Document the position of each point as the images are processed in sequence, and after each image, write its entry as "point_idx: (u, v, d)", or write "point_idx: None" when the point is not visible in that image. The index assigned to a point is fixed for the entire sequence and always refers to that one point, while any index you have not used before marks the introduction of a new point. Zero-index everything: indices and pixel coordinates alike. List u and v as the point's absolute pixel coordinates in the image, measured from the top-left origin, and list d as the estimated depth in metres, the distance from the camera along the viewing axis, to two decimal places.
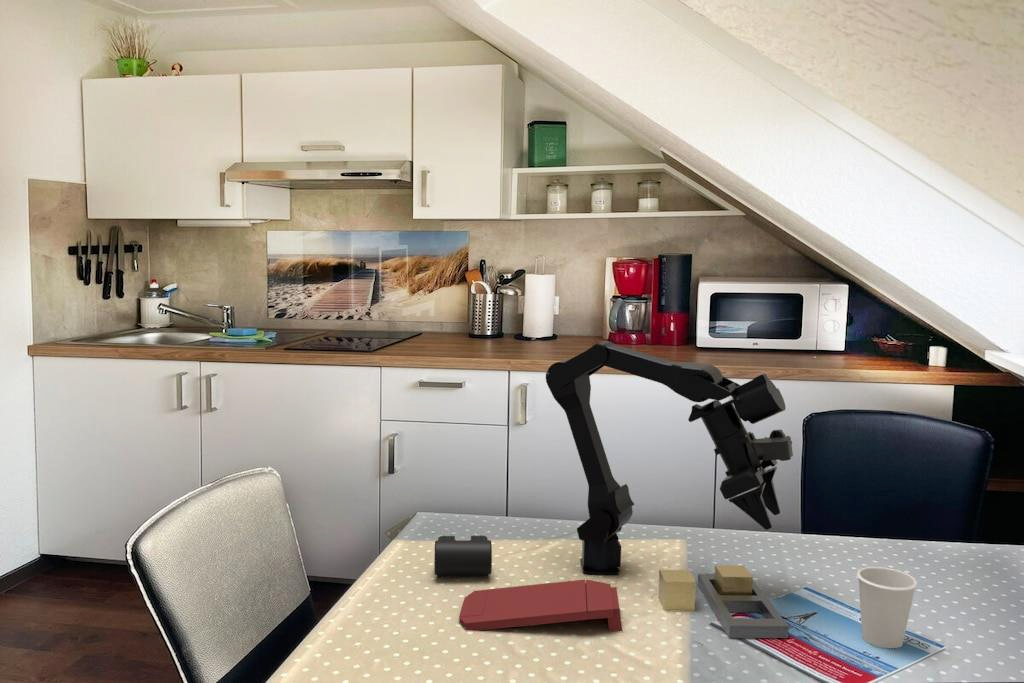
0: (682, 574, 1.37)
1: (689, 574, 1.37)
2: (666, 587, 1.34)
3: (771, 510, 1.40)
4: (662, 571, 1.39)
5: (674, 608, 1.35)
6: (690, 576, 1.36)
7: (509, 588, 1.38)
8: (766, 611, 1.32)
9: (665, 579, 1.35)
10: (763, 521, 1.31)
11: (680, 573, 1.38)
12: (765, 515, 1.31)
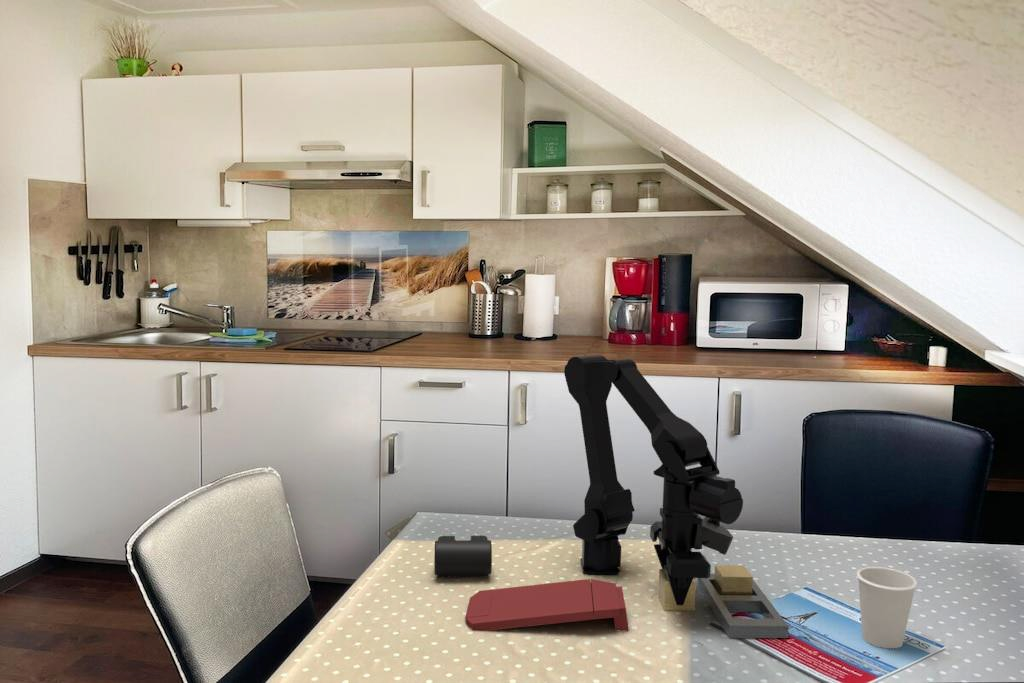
0: None
1: None
2: (666, 586, 1.34)
3: None
4: (662, 570, 1.39)
5: (674, 607, 1.35)
6: None
7: (514, 588, 1.38)
8: (766, 611, 1.32)
9: (665, 578, 1.35)
10: (680, 597, 1.34)
11: None
12: (685, 593, 1.33)
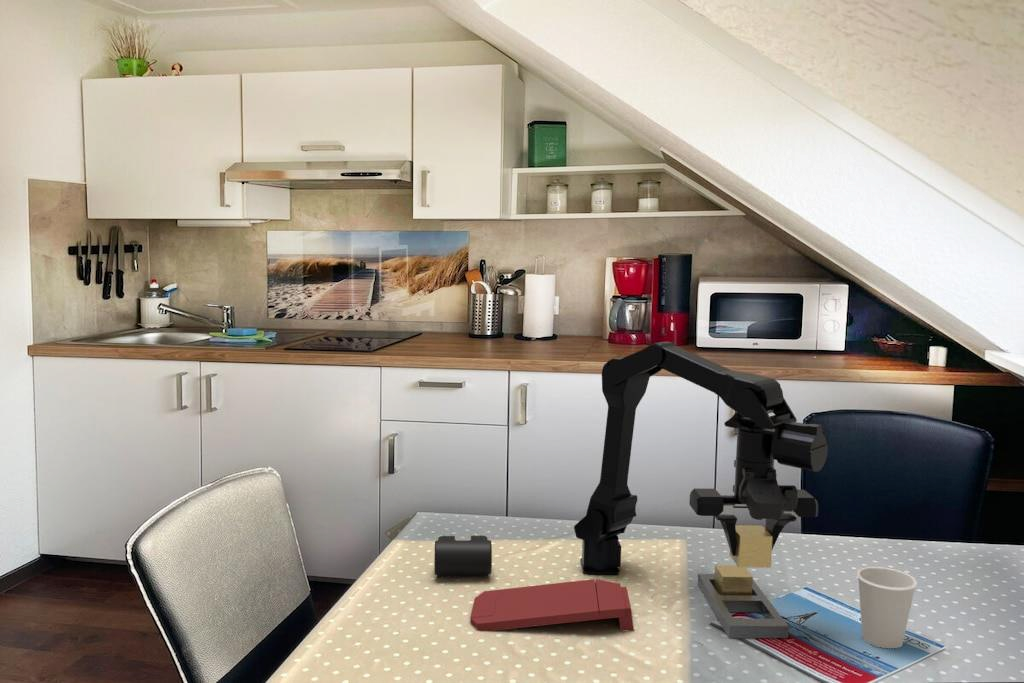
0: (757, 533, 1.28)
1: (759, 535, 1.27)
2: None
3: None
4: (758, 526, 1.32)
5: (732, 556, 1.31)
6: (753, 535, 1.27)
7: (519, 588, 1.38)
8: (766, 611, 1.32)
9: (737, 525, 1.32)
10: (729, 545, 1.30)
11: (759, 532, 1.29)
12: (729, 542, 1.29)
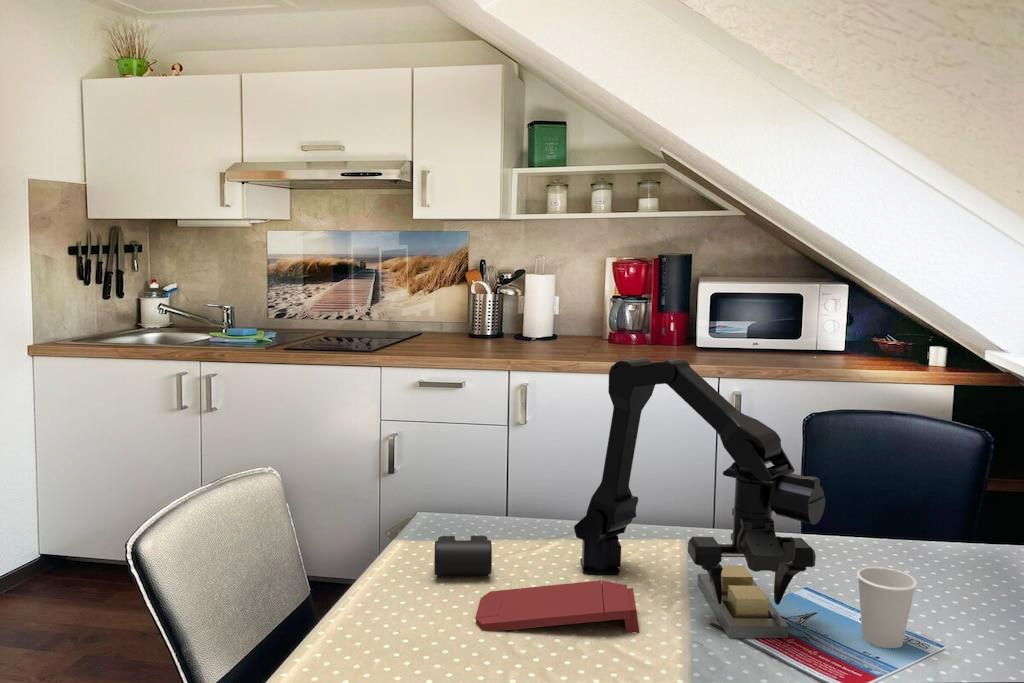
0: (753, 594, 1.30)
1: (755, 597, 1.29)
2: (728, 591, 1.33)
3: (775, 596, 1.31)
4: (755, 586, 1.33)
5: None
6: (750, 597, 1.29)
7: (525, 589, 1.37)
8: None
9: (734, 586, 1.33)
10: (715, 593, 1.31)
11: (755, 594, 1.30)
12: (715, 591, 1.30)
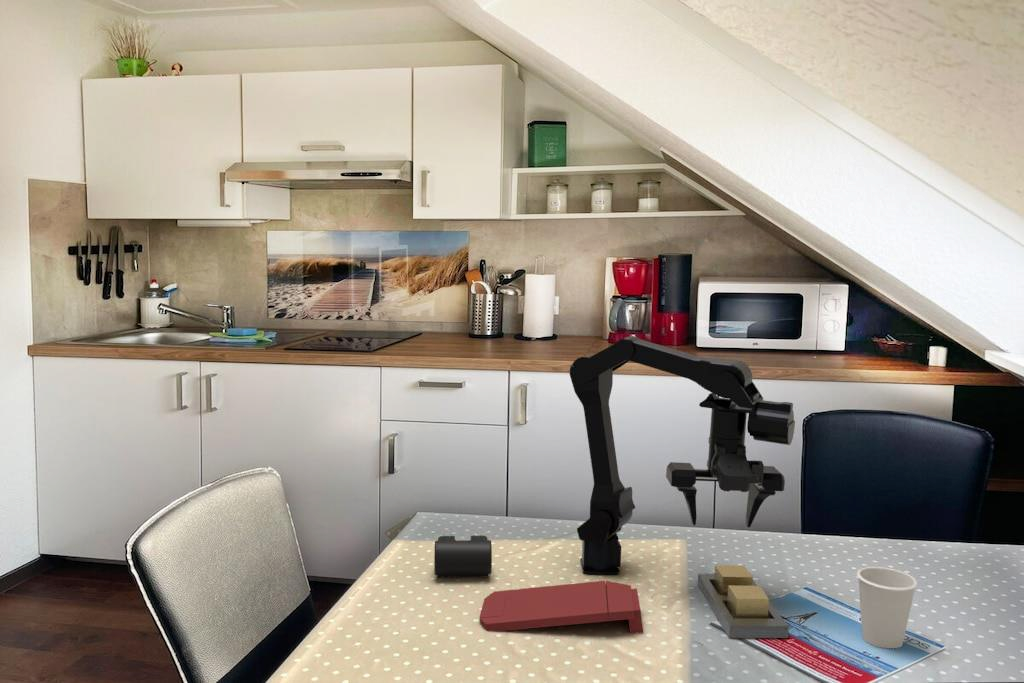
0: (753, 594, 1.30)
1: (755, 597, 1.29)
2: (728, 591, 1.33)
3: (747, 519, 1.41)
4: (755, 586, 1.33)
5: None
6: (750, 597, 1.29)
7: (529, 589, 1.37)
8: None
9: (734, 586, 1.33)
10: (690, 515, 1.40)
11: (755, 593, 1.30)
12: (690, 512, 1.39)
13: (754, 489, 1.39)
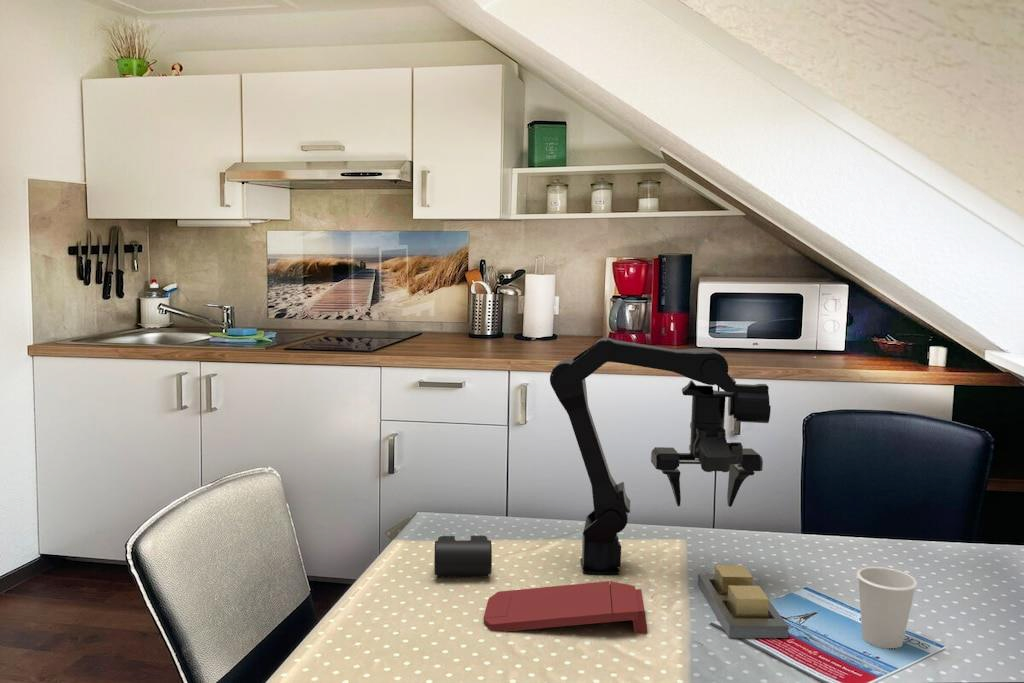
0: (753, 594, 1.30)
1: (755, 597, 1.29)
2: (728, 591, 1.33)
3: (728, 500, 1.48)
4: (755, 586, 1.33)
5: None
6: (750, 597, 1.29)
7: (533, 589, 1.37)
8: None
9: (734, 586, 1.33)
10: (675, 497, 1.48)
11: (755, 593, 1.30)
12: (674, 494, 1.47)
13: (734, 470, 1.47)
